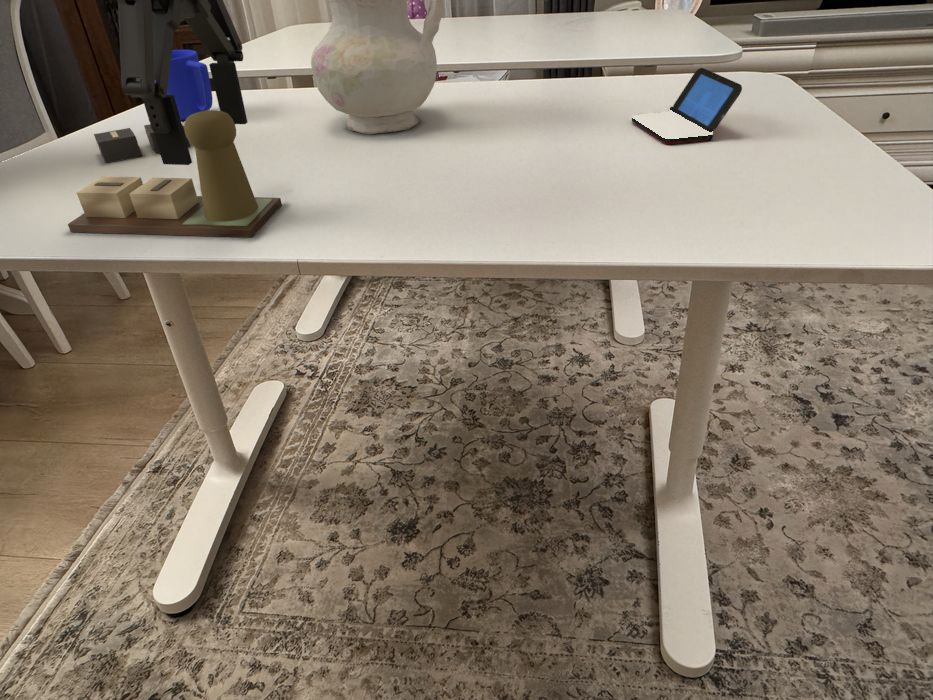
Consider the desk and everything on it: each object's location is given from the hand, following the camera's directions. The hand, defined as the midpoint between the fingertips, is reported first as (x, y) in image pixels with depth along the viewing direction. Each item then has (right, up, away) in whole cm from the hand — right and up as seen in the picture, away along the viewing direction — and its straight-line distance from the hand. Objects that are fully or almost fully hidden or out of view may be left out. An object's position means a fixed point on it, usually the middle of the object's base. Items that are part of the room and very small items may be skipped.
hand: (209, 142), depth 70 cm
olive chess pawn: (+1, -7, +5) cm, 8 cm away
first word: (-21, +8, +28) cm, 35 cm away
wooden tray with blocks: (-6, -7, +6) cm, 11 cm away
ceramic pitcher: (+15, +14, +35) cm, 41 cm away
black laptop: (+60, +10, +27) cm, 67 cm away
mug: (-19, +18, +42) cm, 49 cm away
